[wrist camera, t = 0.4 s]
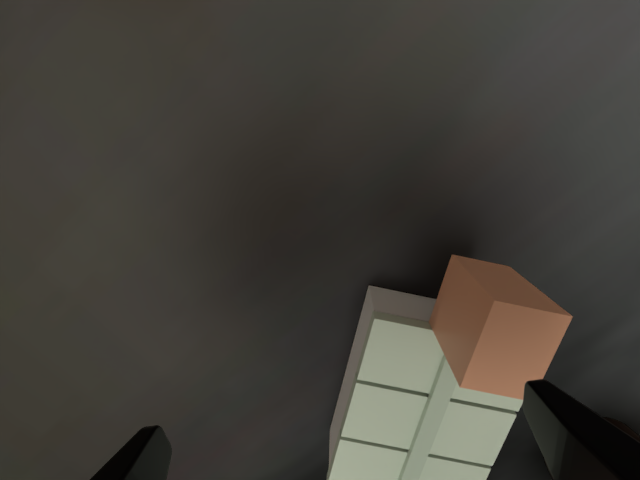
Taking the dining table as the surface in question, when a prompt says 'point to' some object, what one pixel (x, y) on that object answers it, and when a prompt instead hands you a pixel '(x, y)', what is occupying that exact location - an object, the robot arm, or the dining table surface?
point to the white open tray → (377, 302)
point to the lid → (447, 378)
